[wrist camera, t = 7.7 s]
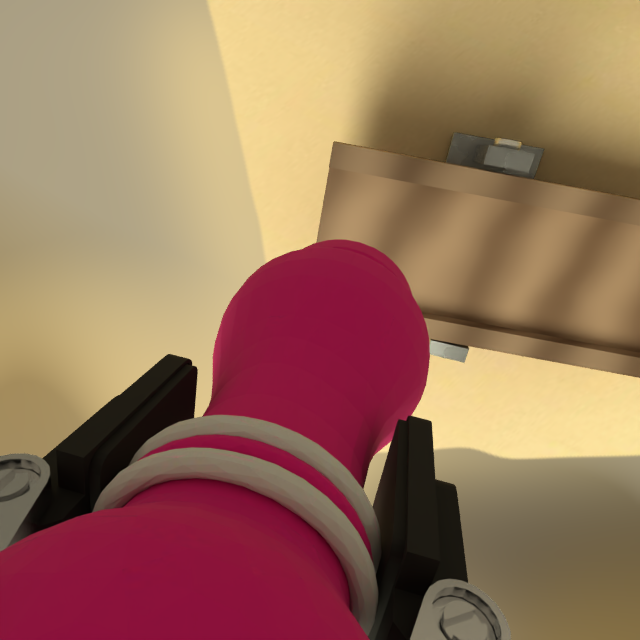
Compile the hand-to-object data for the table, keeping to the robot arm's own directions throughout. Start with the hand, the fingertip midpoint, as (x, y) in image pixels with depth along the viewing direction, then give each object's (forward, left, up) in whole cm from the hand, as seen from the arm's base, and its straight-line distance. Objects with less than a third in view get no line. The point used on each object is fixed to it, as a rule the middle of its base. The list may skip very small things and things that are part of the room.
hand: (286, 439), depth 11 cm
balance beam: (-9, 0, -27) cm, 29 cm away
